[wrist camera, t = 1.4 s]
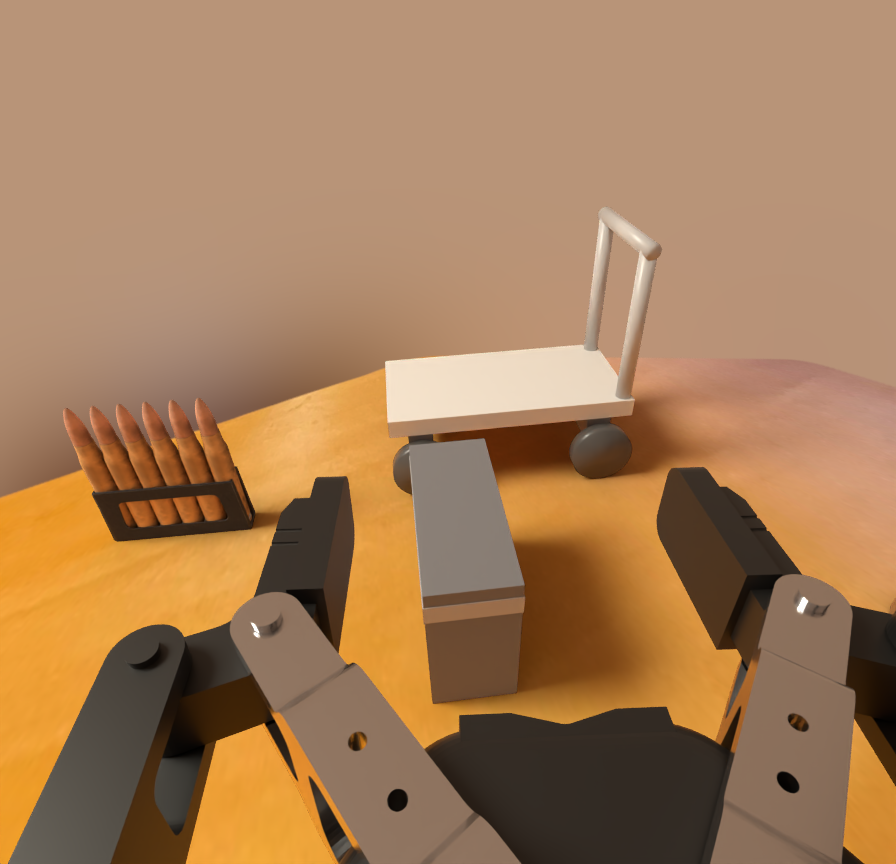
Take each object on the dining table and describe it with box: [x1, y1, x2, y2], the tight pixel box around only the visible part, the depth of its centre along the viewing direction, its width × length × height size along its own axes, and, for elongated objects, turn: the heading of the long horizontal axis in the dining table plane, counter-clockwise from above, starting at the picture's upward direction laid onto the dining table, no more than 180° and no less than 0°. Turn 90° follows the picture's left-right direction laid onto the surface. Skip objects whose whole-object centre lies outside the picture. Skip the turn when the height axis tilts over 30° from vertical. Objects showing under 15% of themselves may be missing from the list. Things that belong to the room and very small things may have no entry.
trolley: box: [385, 207, 662, 494], centre depth 46 cm, size 20×12×20 cm, turn 96°
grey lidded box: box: [409, 438, 525, 704], centre depth 34 cm, size 5×12×10 cm, turn 6°
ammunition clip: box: [63, 398, 255, 542], centre depth 41 cm, size 11×2×12 cm, turn 95°
